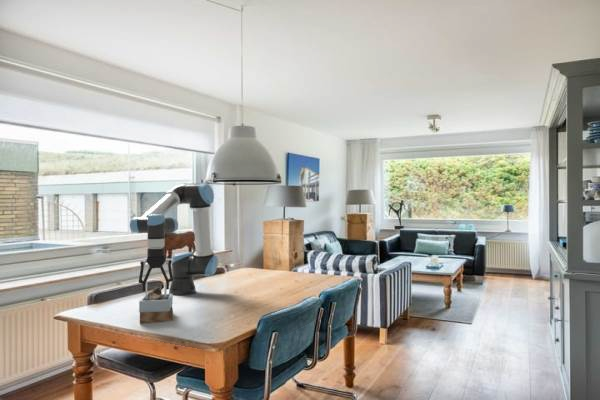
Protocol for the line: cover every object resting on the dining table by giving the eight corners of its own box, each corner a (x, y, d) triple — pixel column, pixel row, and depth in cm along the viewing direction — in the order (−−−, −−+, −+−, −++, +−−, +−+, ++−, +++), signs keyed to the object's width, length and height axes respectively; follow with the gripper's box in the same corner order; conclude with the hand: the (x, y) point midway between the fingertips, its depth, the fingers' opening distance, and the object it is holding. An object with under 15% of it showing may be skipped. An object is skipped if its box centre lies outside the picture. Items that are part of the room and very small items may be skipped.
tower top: (172, 304, 201) (172, 293, 201) (169, 311, 188) (169, 300, 188) (144, 305, 198) (144, 294, 198) (139, 312, 186) (139, 301, 186)
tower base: (171, 313, 202) (171, 303, 202) (172, 321, 189) (172, 310, 189) (140, 316, 198) (140, 305, 198) (139, 324, 184) (139, 313, 184)
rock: (174, 297, 194) (165, 282, 199) (163, 294, 188) (154, 278, 193) (160, 310, 194) (152, 295, 199) (149, 308, 188) (141, 292, 193)
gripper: (178, 246, 200) (178, 293, 200) (132, 247, 193) (132, 297, 193) (179, 247, 193) (179, 297, 193) (131, 249, 186) (131, 300, 186)
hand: (156, 297), depth 193 cm, fingers open, 8 cm apart
